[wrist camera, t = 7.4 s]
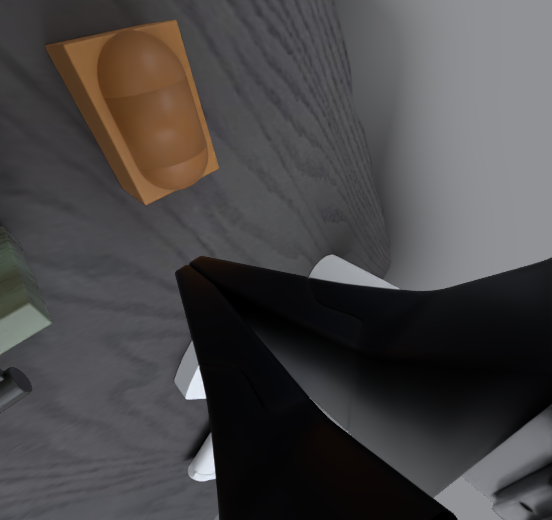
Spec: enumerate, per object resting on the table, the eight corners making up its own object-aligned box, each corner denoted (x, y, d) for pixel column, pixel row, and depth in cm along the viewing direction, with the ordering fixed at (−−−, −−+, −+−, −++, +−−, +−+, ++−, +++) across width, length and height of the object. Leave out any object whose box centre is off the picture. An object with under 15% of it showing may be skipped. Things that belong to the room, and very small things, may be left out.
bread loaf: (191, 157, 20) (237, 176, 17) (122, 189, 18) (160, 217, 15) (145, 23, 15) (197, 16, 12) (43, 45, 13) (75, 43, 10)
